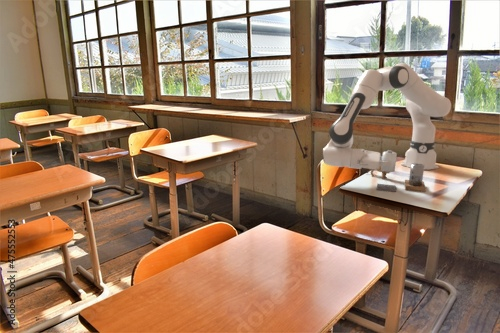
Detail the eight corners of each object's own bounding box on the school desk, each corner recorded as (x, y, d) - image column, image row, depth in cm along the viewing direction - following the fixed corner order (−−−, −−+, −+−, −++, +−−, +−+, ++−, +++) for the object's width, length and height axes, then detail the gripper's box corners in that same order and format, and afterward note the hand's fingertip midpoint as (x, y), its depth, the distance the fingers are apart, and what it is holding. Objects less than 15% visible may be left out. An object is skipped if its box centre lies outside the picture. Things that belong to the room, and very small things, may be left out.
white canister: (381, 168, 173) (383, 148, 170) (394, 169, 171) (397, 149, 168) (380, 171, 167) (382, 151, 165) (394, 172, 165) (397, 152, 163)
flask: (408, 182, 174) (410, 163, 172) (421, 183, 172) (423, 164, 170) (408, 185, 169) (411, 165, 167) (422, 186, 167) (424, 167, 165)
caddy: (404, 183, 178) (405, 175, 177) (423, 185, 176) (424, 177, 175) (405, 190, 169) (406, 181, 168) (425, 192, 167) (426, 183, 166)
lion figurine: (395, 179, 186) (397, 161, 184) (390, 181, 182) (392, 162, 180) (368, 173, 196) (369, 155, 194) (362, 174, 192) (364, 157, 190)
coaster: (377, 184, 176) (377, 183, 176) (395, 186, 174) (395, 185, 173) (376, 189, 169) (376, 188, 169) (395, 192, 166) (396, 190, 166)
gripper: (357, 156, 162) (391, 159, 157) (360, 147, 181) (391, 150, 176) (355, 171, 163) (390, 174, 159) (359, 160, 182) (390, 163, 178)
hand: (390, 161), depth 168 cm, fingers closed on white canister, 6 cm apart
